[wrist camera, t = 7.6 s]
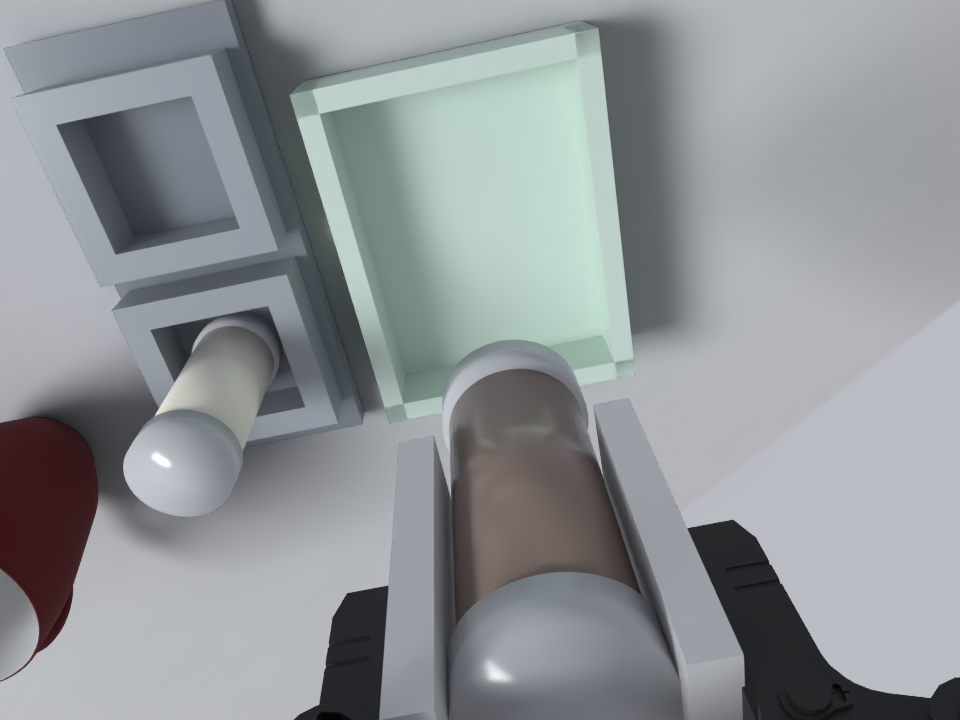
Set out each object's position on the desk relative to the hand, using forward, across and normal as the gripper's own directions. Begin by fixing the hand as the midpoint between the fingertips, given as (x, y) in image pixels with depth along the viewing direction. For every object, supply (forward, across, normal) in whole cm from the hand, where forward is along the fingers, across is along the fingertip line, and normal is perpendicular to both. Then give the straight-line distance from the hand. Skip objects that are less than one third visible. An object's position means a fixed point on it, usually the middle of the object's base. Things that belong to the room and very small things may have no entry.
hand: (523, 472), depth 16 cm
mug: (+17, -22, -8) cm, 29 cm away
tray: (+17, 0, 0) cm, 17 cm away
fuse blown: (+3, 0, 0) cm, 3 cm away
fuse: (+16, -11, -3) cm, 20 cm away
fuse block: (+17, -11, +1) cm, 20 cm away
